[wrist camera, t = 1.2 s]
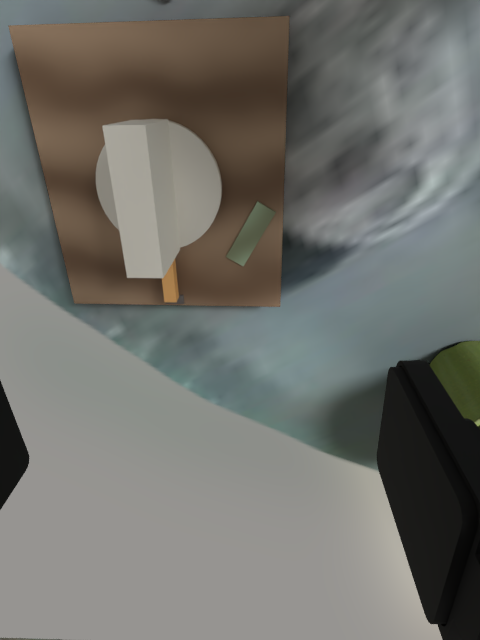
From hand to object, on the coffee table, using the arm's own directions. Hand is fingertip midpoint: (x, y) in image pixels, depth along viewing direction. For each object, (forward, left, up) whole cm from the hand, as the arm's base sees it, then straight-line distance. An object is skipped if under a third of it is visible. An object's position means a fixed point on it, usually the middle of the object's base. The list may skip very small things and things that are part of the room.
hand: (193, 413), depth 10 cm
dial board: (-1, -6, -26) cm, 27 cm away
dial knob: (+1, -6, -23) cm, 24 cm away
